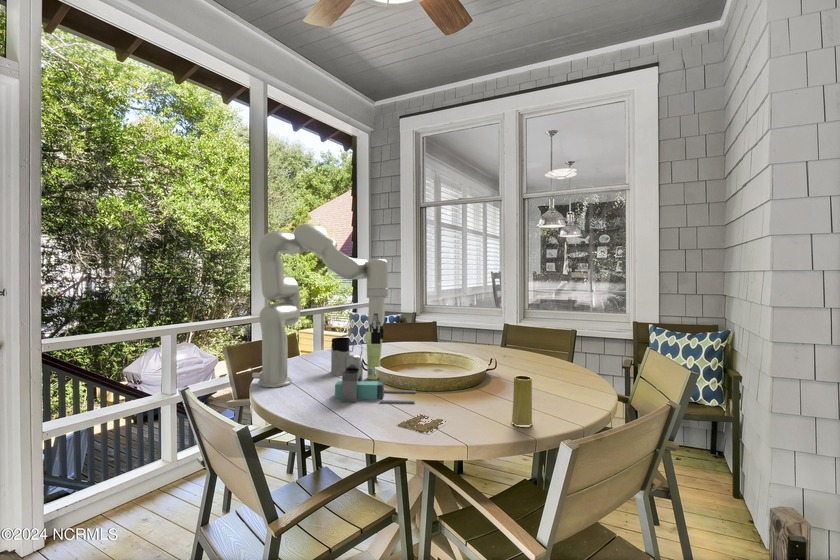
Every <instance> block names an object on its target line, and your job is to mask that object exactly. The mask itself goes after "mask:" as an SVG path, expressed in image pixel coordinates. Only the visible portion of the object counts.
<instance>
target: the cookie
mask: <svg viewBox="0 0 840 560" xmlns="http://www.w3.org/2000/svg"><path fill="white" fill-rule="evenodd" d="M416 415H417V414H416ZM419 415H420V416H418V415H417V417H414V418H412V419H409V418H408V419H409V420H407V419H406V420H407V421H406V422H405V420H403V421H401V422H399V423H400V424H399V423H397V424H398V426H401V427H400V428H402V427H404V428H403V429H406V428H410V429H413V430H416V431H415V432H417V431H420V432H419V433H421V432H426V433H428V432H429V431H430V432H432V431H433V429H437V428H438V426H439V425H441V424H443V423H441V422H442V421H443V420H444V419H442V418H438V419H436V420H432V419H431V420H432V421H431V422H430V423H426V424H424V425H423V424H420V423H419V422H422V421H421V419H424V418H425V417H427V418H425V419H428V418H429V417H430V416H429V415H425V414H419ZM423 415H424V416H423ZM446 421H447V420H446ZM446 421H445V422H446ZM425 422H426V421H425ZM428 422H429V421H428ZM418 423H419V424H418ZM439 423H440V424H439ZM398 426H397V427H398ZM415 426H416V427H415ZM410 429H409V430H410ZM413 430H412V431H413ZM431 430H432V431H431ZM437 430H438V429H437ZM432 433H433V432H432Z"/></svg>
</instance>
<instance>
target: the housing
mask: <svg viewBox="0 0 840 560" xmlns="http://www.w3.org/2000/svg"><path fill="white" fill-rule="evenodd" d="M360 355H361V354H356V355H355V354H350V355H346V356H345V369H346V370H345V371H344V372H343V373H342V375H341V377H342V378H341V381H342V398H341V402H342V403H358V401H359V399H358V381H363V371H364V370H363V365H362V355H361V356H360Z"/></svg>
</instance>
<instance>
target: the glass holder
mask: <svg viewBox="0 0 840 560" xmlns="http://www.w3.org/2000/svg"><path fill="white" fill-rule="evenodd" d="M356 344H359V345H360V347H361V349H360V350H361V351H360V354H359V355H360V356H361V357H362V354H363V344H362V343H361V342H354V343H353V344H352V350H350V338H349V337H344V336H342V337H341V336H339V337H332V338H331V347H330V348H331V349H330V350H331V352H330V353H331V361H330V362H331V363H330V364H331V365H330V367H331V369H330V375H331V374H332V376H341V377H342V373H343V372H344V371H345V370H346V369H345V356H346V355H351V354H350V353H352V352H354V347H355V345H356Z"/></svg>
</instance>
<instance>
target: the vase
mask: <svg viewBox="0 0 840 560" xmlns="http://www.w3.org/2000/svg"><path fill="white" fill-rule="evenodd" d="M532 381H533V378H532V377H531V376H528V375H520V374H519V375H515V376H513V396H512V397H513V400H512V415H511V416H512V417H511V423H512V422H513V423H514V424H516V425H530V424H532V425H533V409H532V408H533V393H532V392H533V387H532V386H533V383H532Z"/></svg>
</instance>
